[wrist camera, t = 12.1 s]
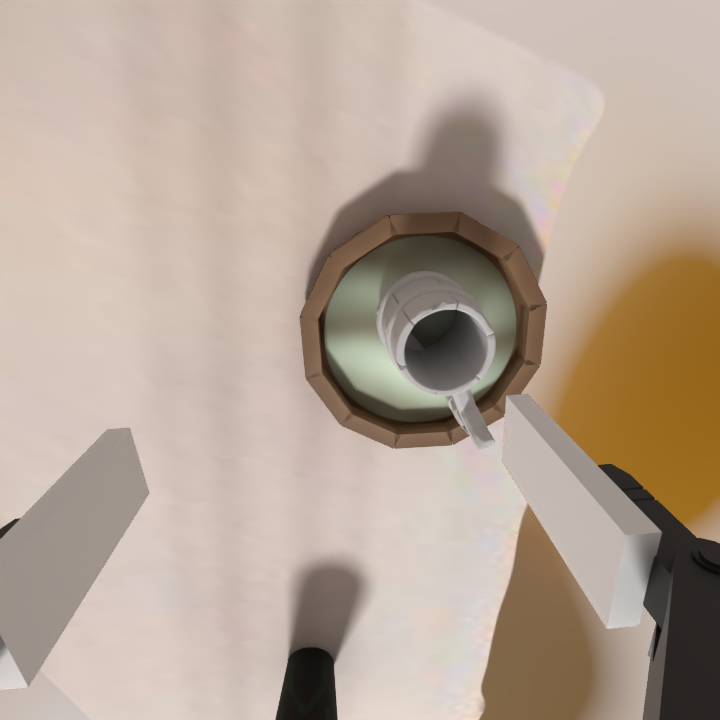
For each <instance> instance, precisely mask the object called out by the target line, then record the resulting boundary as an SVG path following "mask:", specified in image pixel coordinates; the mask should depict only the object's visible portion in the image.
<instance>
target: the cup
mask: <svg viewBox="0 0 720 720" xmlns="http://www.w3.org/2000/svg"><path fill="white" fill-rule="evenodd" d="M276 720H337V705H336V691H335V676H334V662H333V659H332V657H331V655H330V654H329V653H327V652H326V651H324V650H322V649H318V648H303V649H300V650H298V651H296V652H294V653H293V654H292V655H291V656H290V658H289V659H288V663H287V668H286V673H285V678H284V682H283V687H282V692H281V696H280V701H279V706H278V711H277V715H276Z"/></svg>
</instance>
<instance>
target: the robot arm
mask: <svg viewBox="0 0 720 720" xmlns="http://www.w3.org/2000/svg"><path fill="white" fill-rule="evenodd" d="M502 462H503V464H504V466H505V467H506V469H507V470H508V472H509V474H510V475H511V477H512V478H513V480H514V482H515V483H516V485H517V486H518V488H519V490H520V491H521V493H522V494H523V496H524V497H525V499H526V501H527V502H528V504H529V505H530V507H531V508H532V510H533V512H534V513H535V515H536V517H537V518H538V520H539V521H540V523H541V525H542V526H543V528H544V529H545V531H546V533H547V534H548V535H549V537H550V539H551V541H552V542H553V544H554V545H555V547H556V548H557V550H558V552H559V553H560V555H561V556H562V558H563V560H564V561H565V563H566V564H567V566H568V568H569V569H570V571H571V572H572V574H573V576H574V577H575V579H576V580H577V582H578V583H579V585H580V587H581V588H582V590H583V591H584V593H585V595H586V596H587V598H588V599H589V601H590V603H591V604H592V606H593V607H594V609H595V611H596V612H597V614H598V615H599V617H600V618H601V620H602V622H603V623H604V625H605V626H606V628H607V629H610V628H620V627H630V626H639V625H640V621H641V617H642V613H643V609H644V607H645V608H646V609H647V611H648V612H649V613H650V615H651V616H652V617H653V619H654V620H655V621H656V626H655V629H654V633H653V637H652V641H651V645H650V649H649V652H648V656H650V657H651V658H650V666H649V674H648V681H647V689H646V697H645V705H644V714H643V720H720V544H719V543H717V542H715V541H711V540H706V539H702V538H696V537H695V536H694V535H693V534H692V533H691V532H690V531H689V530H688V529H687V528H686V527H685V526H684V525H683V524H682V523H680V521H678V520H677V519H676V518H675V517H674V516H673V515H672V514H671V513H670V512H669V511H668V510H667V509H666V508H665V507H664V506H663V505H662V504H661V503H659V502H658V501H657V500H655V499H654V497H653V496H652V495H651V494H650V493H649V492H648V491H647V490H644V489H643V486H642V485H640V484H639V483H638V482H637V481H636V480H635V479H634V478H633V477H632V476H631V475H630V474H628V473H626V472H625V471H623V470H621V469H619V468H617V467H616V466H614V465H612V464H604V465H596V464H595V463H594V462H593V461H592V460H591V458H589V456H588V455H586V453H584V452H583V450H582V449H580V447H579V446H578V445H577V444H576V443H575V442H574V441H573V440H572V439H571V438H570V437H569V436H568V435H567V434H566V433H565V432H564V431H563V430H562V429H561V428H560V427H559V426H558V425H557V423H556V422H555V421H553V419H552V418H551V417H550V416H549V415H548V414H547V413H546V412H545V411H544V410H543V409H542V408H541V407H540V406H539V405H538V404H537V403H536V402H535V401H534V400H533V399H532V398H531V397H530V396H529V395H528V394H519V395H507V396H506V406H505V422H504V438H503V453H502ZM148 495H149V490H148V487H147V484H146V480H145V477H144V474H143V470H142V467H141V464H140V460H139V457H138V454H137V450H136V447H135V444H134V440H133V437H132V434H131V430H130V428H120V429H109V430H106V431H105V432H104V433H103V434H102V435H101V436H100V437H99V439H98V440H97V441H96V442H95V443H94V444H93V445H92V446H91V447H90V448H89V449H88V450H87V451H86V452H85V453H84V454H83V455H82V456H81V457H80V458H79V459H78V460H77V461H76V462H75V463H74V464H73V465H72V466H71V467H70V468H69V469H68V470H67V471H66V472H65V473H64V474H63V475H62V477H61V478H60V479H59V480H58V481H57V482H56V483H55V484H54V485H53V486H52V487H51V488H50V489H49V490H48V491H47V492H46V493H45V494H44V495H43V496H42V497H41V498H40V499H39V500H38V501H37V502H36V503H35V504H34V505H33V506H32V507H31V508H30V509H29V510H28V511H27V512H26V513H25V515H24V516H23V517H22V518H20V519H14V520H13V521H11V522H10V523H8V524H7V525H6V526H4V527H3V528H1V529H0V690H4V689H14V688H23V687H29V685H30V683H31V682H32V680H33V679H34V677H35V676H36V674H37V672H38V671H39V669H40V668H41V666H42V664H43V663H44V661H45V660H46V658H47V656H48V655H49V653H50V652H51V650H52V648H53V647H54V645H55V644H56V642H57V640H58V639H59V637H60V636H61V634H62V632H63V631H64V629H65V628H66V626H67V624H68V623H69V621H70V620H71V618H72V616H73V615H74V613H75V612H76V610H77V608H78V607H79V605H80V604H81V602H82V600H83V599H84V597H85V595H86V594H87V592H88V591H89V589H90V587H91V586H92V584H93V583H94V581H95V579H96V578H97V576H98V575H99V573H100V571H101V570H102V568H103V567H104V565H105V563H106V562H107V560H108V559H109V557H110V555H111V554H112V552H113V551H114V549H115V547H116V546H117V544H118V543H119V541H120V539H121V538H122V536H123V535H124V533H125V531H126V530H127V528H128V527H129V525H130V523H131V522H132V520H133V519H134V517H135V515H136V514H137V512H138V511H139V509H140V507H141V506H142V504H143V503H144V501H145V499H146V498H147V496H148Z"/></svg>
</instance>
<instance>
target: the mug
mask: <svg viewBox="0 0 720 720" xmlns="http://www.w3.org/2000/svg"><path fill="white" fill-rule="evenodd" d="M475 301H476V300H475V298H474V297H473V296H472V295H470V294H468V293H465V292H464V291H463V289H462V288H461V287H460V284H459V283H458V282H457V281H454V280H452V279H451V278H450V277H448V276H446V275H444V274H442V273H438V272H434V271H417V272H411V273H409V274H407V275H404V276H402V277H401V278H399V279H397V280H396V281H395V282H394V283H393V284H392V285H390V286H389V288H388V289H387V290H386V291H385V292H384V294H383V296H382V297H381V299H380V302H379V304H378V307H377V311H376V324H377V330H378V334H379V337H380V339H381V341H382V343H383V344H384V346H385V347H386V348H387V351H388V354H389V357H390V359H391V361H392V363H393V364H394V366H395V367H396V368H397V369H398V371H399V372H400V374H402V375H403V377H404V378H405V379H406V381H407V382H408V383H409V384H410V385H412V386H413V387H414V388H416V389H417V390H419V391H421V392H423V393H426V394H429V395H433V394H434V393H435V395H436V396H445V399H446V402H447V404H448V406H449V408H450V409H451V410H452V412H453V414H454V416H455V418H456V420H457V422H458V423H459V424H460V425H461V427H462V428H463V429H464V430H465V432H466V433H467V434H469V435H470V436H471V438H472V440H473V441H474V443H475V445H476V447H477V448H478V449H479V450H481V449H484V448H486V447H488V446H491V445H493V444H494V442H495V441H494V439H493V437H492V435H491V433H490V432H489V431H488V428H487V426H486V423H485V420H484V418H483V416H482V415H481V413H480V411H479V409H478V407H477V406H476V404H475V401H474V398H473V395H472V393H471V390H470V388H472V387H473V386H474V385H476V384H477V383H478V382H479V381H480V379H482V378H483V377H484V375H485V374H486V373H487V371H488V370H489V368H490V366H491V363H492V361H493V359H494V356H495V350H496V340H495V335H494V334H493V333H494V331H493V329H492V327H491V325H490V323H489V321H488V320H487V319H486V317H485V316H484V313H483V312H482V310H481V308H480V307H479V305H478V304H477V302H475ZM441 310H455V319H454V322H453V325H452V327H451V329H450V330H449V332H448V333H447V334H446V336H445V337H443V338H442V339H441V340H440V341H439V342H437V343H436V344H433V345H431V346H428V347H424V348H423V347H422V345H421V344H420V343H419V342H418V341H417V339H416V338H415V337H414V336H413V335H412V334H411V330H412V328H413V327H414V325H415V324H416V323H417V322H418V321H419V320H421V319H422V318H424V317H426V316H427V315H429V314H431V313H434V312H437V311H441ZM479 378H480V379H479Z"/></svg>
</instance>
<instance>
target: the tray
mask: <svg viewBox="0 0 720 720" xmlns="http://www.w3.org/2000/svg"><path fill="white" fill-rule="evenodd" d="M417 271H434V272H438V273H442V274H444V275H446V276H448V277H450V278H451V279H452V280H454V281H457V282H458V283H459V284H460V287H461V288H462V289H463V291H464V292H465V293H468V294H470V295H472V296H473V297H474V298H475V300H476V301H475V302H477V304H478V305H479V307H480V308H481V310H482V312H483V313H484V316H485V317H486V319H487V320H488V321H489V323H490V325H491V327H492V329H493V331H494V333H493V334H494V335H495V340H496V350H495V356H494V359H493V361H492V363H491V366H490V368H489V370H488V371H487V373H486V374H485V375H484V377H483V378H482V379H480V378H479V379H480V381H479V382H478V383H477V384H476V385H474V386H473V387H472V388H470V390H471V393H472V395H473V398H474V401H475V404H476V406H477V407H478V409H479V411H480V413H481V415H482V416H483V418H484V420H485V423H486V426H488V425H490V424H492V423H493V422H495V421H497V420H499V419H501V418H502V417H504V414H505V406H506V396H507V395H519V394H521V393H522V391H523V390H524V388H525V387H526V385H527V384H528V383H529V381H530V380H531V378H532V377H533V375H534V374H535V372H536V371H537V370H538V368H539V367H540V366H539V365H538V364H541V356H542V347H543V338H544V328H545V319H546V310H547V304H545V303H547V302H546V300H545V298H544V296H543V294H542V292H541V290H540V288H539V286H538V284H537V281H536V279H535V277H534V275H533V273H532V271H531V269H530V267H529V265H528V263H527V261H526V259H525V257H524V255H523V253H522V251H521V249H520V247H518V245H517V244H515V243H513V242H512V241H510V240H508V239H506V238H505V237H503V236H501V235H499V234H498V233H496V232H494V231H493V230H491V229H489V228H487V227H486V226H484V225H482V224H480V223H479V222H477V221H475V220H473V219H472V218H470V217H468V216H467V215H465V214H463V213H461V212H438V213H415V214H397V215H388V216H384V217H383V218H381V219H380V220H378V221H377V222H375V223H374V224H372V225H371V226H369V227H368V228H366V229H364V230H363V231H361V232H359V233H357V234H356V235H355V236H354V237H352V238H351V239H350V240H348V241H347V242H345V243H344V244H342V245H341V246H340V247H338V248H337V249H335V250H334V251H332V252H331V253H330V254H329V256H328V258H327V260H326V262H325V264H324V266H323V268H322V270H321V272H320V274H319V276H318V278H317V280H316V282H315V285H314V287H313V289H312V291H311V293H310V295H309V297H308V299H307V301H306V303H305V306H304V308H303V310H302V312H301V315H300V325H301V335H302V345H303V356H304V366H305V377H307V378H306V380H307V381H308V382H309V384H310V385H311V386H312V388H313V389H314V390H315V392H316V393H317V394H318V396H319V397H320V398H321V400H322V401H323V402H324V404H325V405H326V406H327V408H328V409H329V410H330V412H331V413H332V414H333V416H334V417H335V418H336V420H337V421H338V422H339V424H340V425H341V424H342V426H343V427H346V428H348V429H350V430H352V431H355V432H357V433H359V434H362V435H364V436H366V437H368V438H371V439H373V440H375V441H377V442H380V443H382V444H384V445H387V446H389V447H391V448H395V449H397V448H413V447H430V446H447V445H452V443H453V445H454V444H456V443H457V442H459V441H461V440H463V439H465V438H466V437H468V436H470V435H469V434H467V433H466V432H465V430H464V429H463V428H462V427H461V425H460V424H459V423H458V422H457V420H456V418H455V416H454V414H453V412H452V410H451V409H450V408H449V406H448V404H447V402H446V399H445V396H436V395H435V393H434V394H433V395H429V394H426V393H423V392H421V391H419V390H417V389H416V388H414V387H413V386H412V385H410V384H409V383H408V382H407V381H406V379H405V378H404V377H403V375H402V374H400V372H399V371H398V369H397V368H396V367H395V366H394V364H393V363H392V361H391V359H390V357H389V354H388V351H387V348H386V347H385V346H384V344H383V343H382V341H381V339H380V337H379V334H378V330H377V324H376V311H377V307H378V304H379V302H380V299H381V297H382V296H383V294H384V292H385V291H386V290H387V289H388V288H389V286H390V285H392V284H393V283H394V282H395V281H396V280H397V279H399V278H401V277H402V276H404V275H407V274H409V273H411V272H417ZM454 319H455V310H441V311H437V312H434V313H431V314H429V315H427V316H426V317H424V318H422V319H421V320H419V321H418V322H417V323H416V324H415V325H414V327H413V328H412V330H411V334H412V335H413V336H414V337H415V338H416V339H417V341H418V342H419V343H420V344H421V345H422V347H423V348H424V347H428V346H431V345H433V344H436V343H437V342H439V341H440V340H441V339H442V338H443V337H445V336H446V334H447V333H448V332H449V330H450V329H451V327H452V325H453V322H454Z"/></svg>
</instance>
